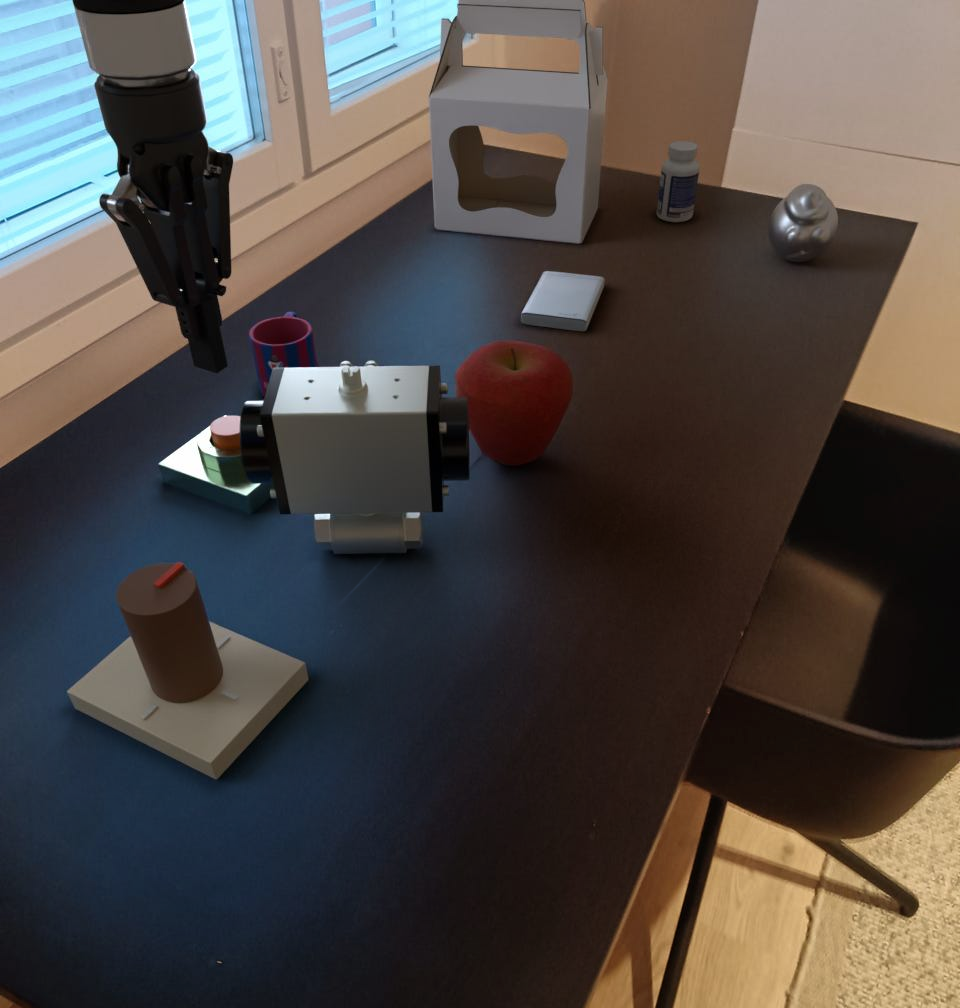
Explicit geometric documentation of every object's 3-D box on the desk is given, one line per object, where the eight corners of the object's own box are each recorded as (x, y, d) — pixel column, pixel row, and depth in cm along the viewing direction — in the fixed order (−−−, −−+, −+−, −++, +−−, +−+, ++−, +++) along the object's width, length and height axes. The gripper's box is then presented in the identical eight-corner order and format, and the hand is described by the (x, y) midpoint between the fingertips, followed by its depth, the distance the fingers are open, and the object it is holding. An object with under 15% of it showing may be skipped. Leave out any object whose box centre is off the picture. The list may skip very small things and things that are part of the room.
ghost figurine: (747, 262, 126) (763, 185, 119) (781, 240, 131) (798, 165, 124) (808, 281, 122) (828, 202, 114) (841, 258, 127) (862, 180, 119)
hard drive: (587, 319, 111) (605, 275, 120) (520, 312, 113) (543, 269, 121) (586, 332, 112) (604, 288, 121) (520, 324, 114) (542, 281, 122)
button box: (163, 482, 91) (152, 447, 89) (229, 433, 97) (221, 399, 95) (251, 514, 88) (242, 479, 85) (313, 461, 94) (308, 427, 91)
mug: (252, 401, 102) (240, 343, 97) (279, 356, 109) (268, 301, 104) (311, 405, 101) (302, 347, 96) (334, 360, 108) (326, 304, 103)
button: (205, 445, 89) (201, 429, 88) (229, 427, 92) (226, 411, 90) (234, 455, 88) (231, 439, 87) (258, 436, 90) (255, 421, 89)
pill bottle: (699, 215, 137) (710, 144, 131) (678, 226, 135) (688, 154, 128) (669, 206, 140) (678, 136, 133) (648, 216, 137) (656, 145, 130)
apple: (466, 495, 89) (463, 382, 81) (451, 434, 97) (447, 325, 88) (578, 483, 90) (587, 371, 82) (555, 424, 98) (560, 315, 89)
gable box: (432, 230, 135) (422, 0, 115) (457, 197, 144) (451, -22, 124) (583, 245, 130) (599, 9, 111) (599, 210, 139) (617, -14, 119)
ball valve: (470, 512, 87) (467, 336, 75) (471, 572, 81) (467, 391, 69) (280, 515, 87) (244, 340, 75) (266, 575, 81) (225, 395, 69)
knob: (191, 712, 68) (158, 621, 61) (135, 687, 69) (97, 596, 63) (237, 665, 71) (211, 573, 64) (183, 642, 73) (152, 550, 66)
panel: (74, 708, 71) (65, 689, 69) (173, 620, 77) (167, 601, 76) (216, 780, 66) (209, 761, 64) (308, 679, 73) (305, 660, 71)
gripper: (168, 44, 73) (225, 326, 90) (39, 87, 65) (129, 388, 82) (243, 57, 70) (287, 345, 87) (118, 103, 62) (194, 410, 79)
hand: (210, 365), depth 84 cm, fingers closed
